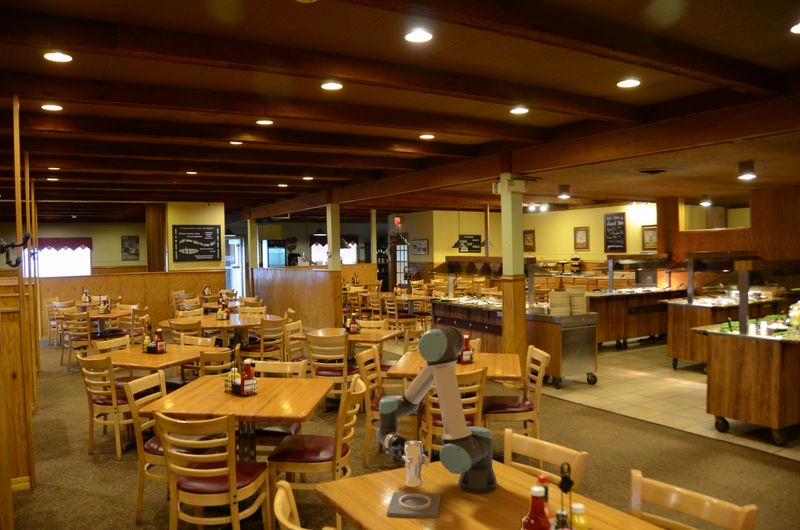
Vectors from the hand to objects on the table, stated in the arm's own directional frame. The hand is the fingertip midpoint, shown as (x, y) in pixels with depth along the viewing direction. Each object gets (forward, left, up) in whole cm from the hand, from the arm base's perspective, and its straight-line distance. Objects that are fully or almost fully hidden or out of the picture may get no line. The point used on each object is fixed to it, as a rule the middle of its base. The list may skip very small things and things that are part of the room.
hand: (418, 464), depth 210 cm
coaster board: (+2, -4, -17) cm, 18 cm away
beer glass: (+2, -5, -9) cm, 10 cm away
